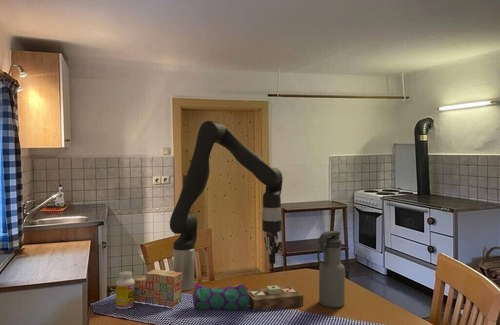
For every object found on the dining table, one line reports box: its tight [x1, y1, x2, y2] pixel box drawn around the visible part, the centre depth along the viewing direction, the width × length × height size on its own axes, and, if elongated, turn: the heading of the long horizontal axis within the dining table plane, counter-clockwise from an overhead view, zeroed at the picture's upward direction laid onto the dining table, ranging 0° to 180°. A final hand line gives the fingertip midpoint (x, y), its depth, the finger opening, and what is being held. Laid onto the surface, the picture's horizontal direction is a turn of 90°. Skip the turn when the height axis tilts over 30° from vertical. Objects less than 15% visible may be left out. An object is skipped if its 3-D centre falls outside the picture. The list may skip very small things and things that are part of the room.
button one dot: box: [265, 284, 281, 295], centre depth 148 cm, size 4×4×3 cm
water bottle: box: [316, 230, 346, 309], centre depth 148 cm, size 10×10×28 cm
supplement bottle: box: [115, 270, 135, 310], centre depth 142 cm, size 7×7×13 cm
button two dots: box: [282, 288, 296, 294], centre depth 150 cm, size 4×4×3 cm
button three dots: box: [251, 291, 265, 297], centre depth 146 cm, size 4×4×3 cm
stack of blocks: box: [131, 269, 183, 307], centre depth 147 cm, size 21×6×12 cm, turn 71°
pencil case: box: [192, 282, 250, 311], centre depth 141 cm, size 21×9×10 cm, turn 95°
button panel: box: [247, 285, 304, 311], centre depth 148 cm, size 20×12×4 cm, turn 107°
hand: (272, 263), depth 147 cm, fingers closed
